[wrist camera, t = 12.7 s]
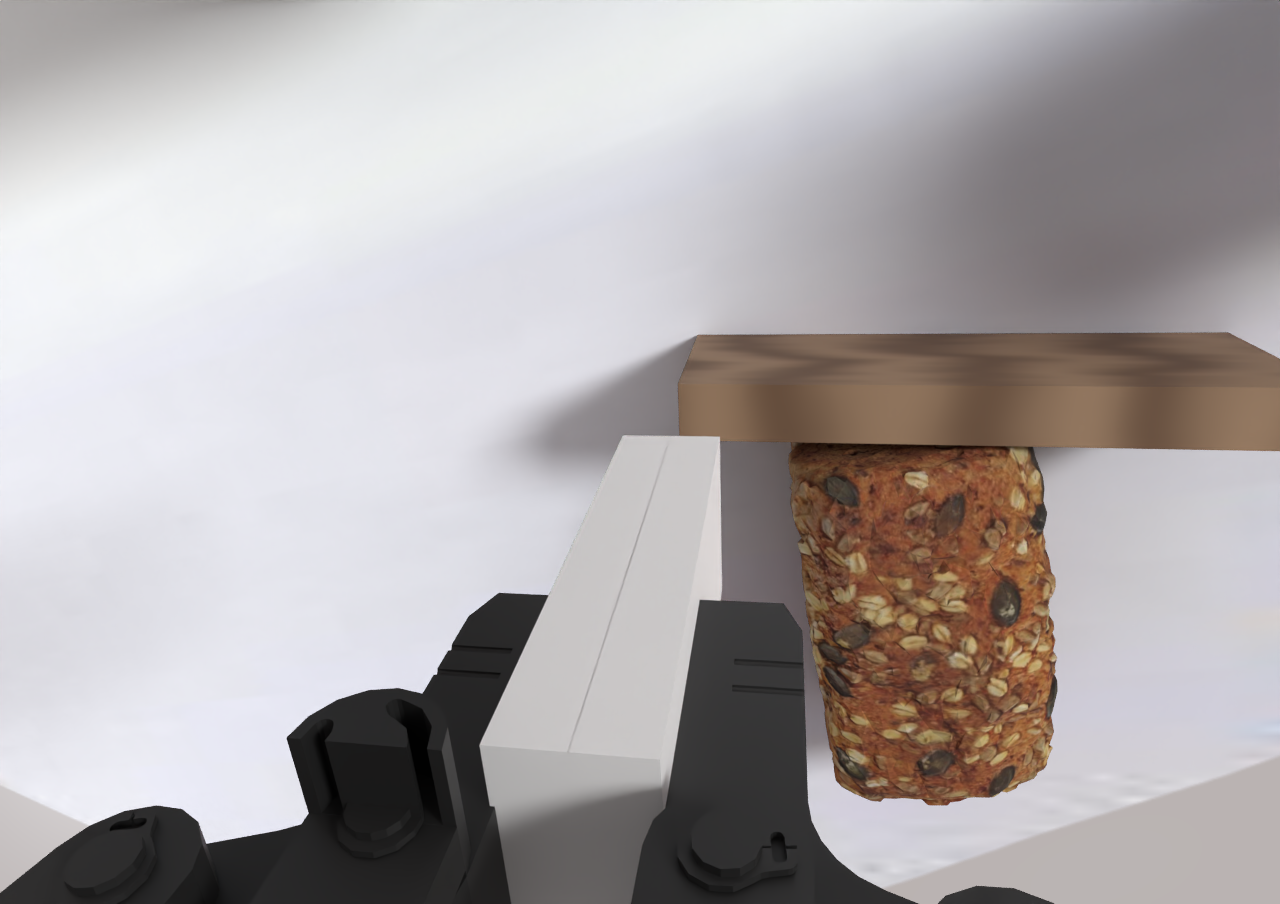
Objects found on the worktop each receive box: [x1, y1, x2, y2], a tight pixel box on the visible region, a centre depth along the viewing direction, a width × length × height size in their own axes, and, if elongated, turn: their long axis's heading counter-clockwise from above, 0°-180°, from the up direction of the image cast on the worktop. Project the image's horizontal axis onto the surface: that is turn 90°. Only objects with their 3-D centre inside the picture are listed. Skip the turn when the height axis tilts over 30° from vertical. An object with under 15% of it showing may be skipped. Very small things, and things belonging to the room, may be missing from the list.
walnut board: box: [678, 333, 1280, 451], centre depth 35 cm, size 24×2×8 cm, turn 93°
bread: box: [788, 442, 1057, 805], centre depth 39 cm, size 19×11×10 cm, turn 11°
